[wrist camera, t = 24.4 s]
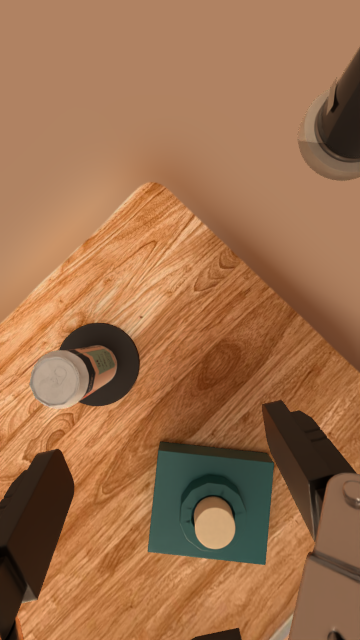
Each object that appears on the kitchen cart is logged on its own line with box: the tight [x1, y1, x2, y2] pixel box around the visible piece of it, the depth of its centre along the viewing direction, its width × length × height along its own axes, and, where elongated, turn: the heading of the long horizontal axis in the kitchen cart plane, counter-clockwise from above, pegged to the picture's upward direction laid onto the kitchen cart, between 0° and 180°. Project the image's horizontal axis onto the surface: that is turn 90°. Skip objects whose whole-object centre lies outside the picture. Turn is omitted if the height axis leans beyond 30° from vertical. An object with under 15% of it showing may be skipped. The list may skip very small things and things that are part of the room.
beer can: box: [29, 345, 117, 409], centre depth 28 cm, size 5×5×12 cm
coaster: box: [59, 323, 139, 406], centre depth 35 cm, size 10×10×1 cm
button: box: [194, 496, 235, 549], centre depth 29 cm, size 4×4×2 cm
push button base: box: [148, 442, 274, 565], centre depth 32 cm, size 13×11×4 cm
